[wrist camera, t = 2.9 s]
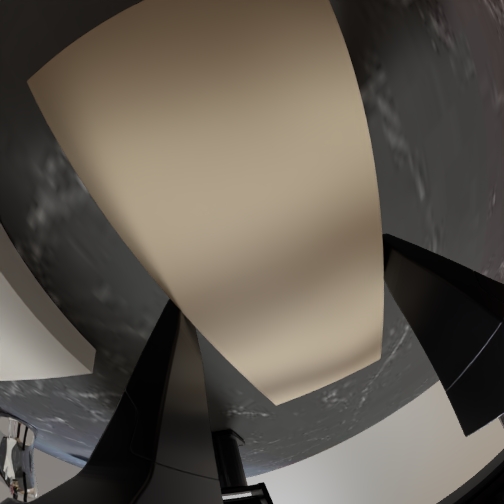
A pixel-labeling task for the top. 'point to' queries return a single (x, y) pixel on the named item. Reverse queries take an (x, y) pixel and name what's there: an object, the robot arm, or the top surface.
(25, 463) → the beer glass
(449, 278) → the robot arm
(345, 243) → the maple board
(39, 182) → the top surface
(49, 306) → the peg stand
